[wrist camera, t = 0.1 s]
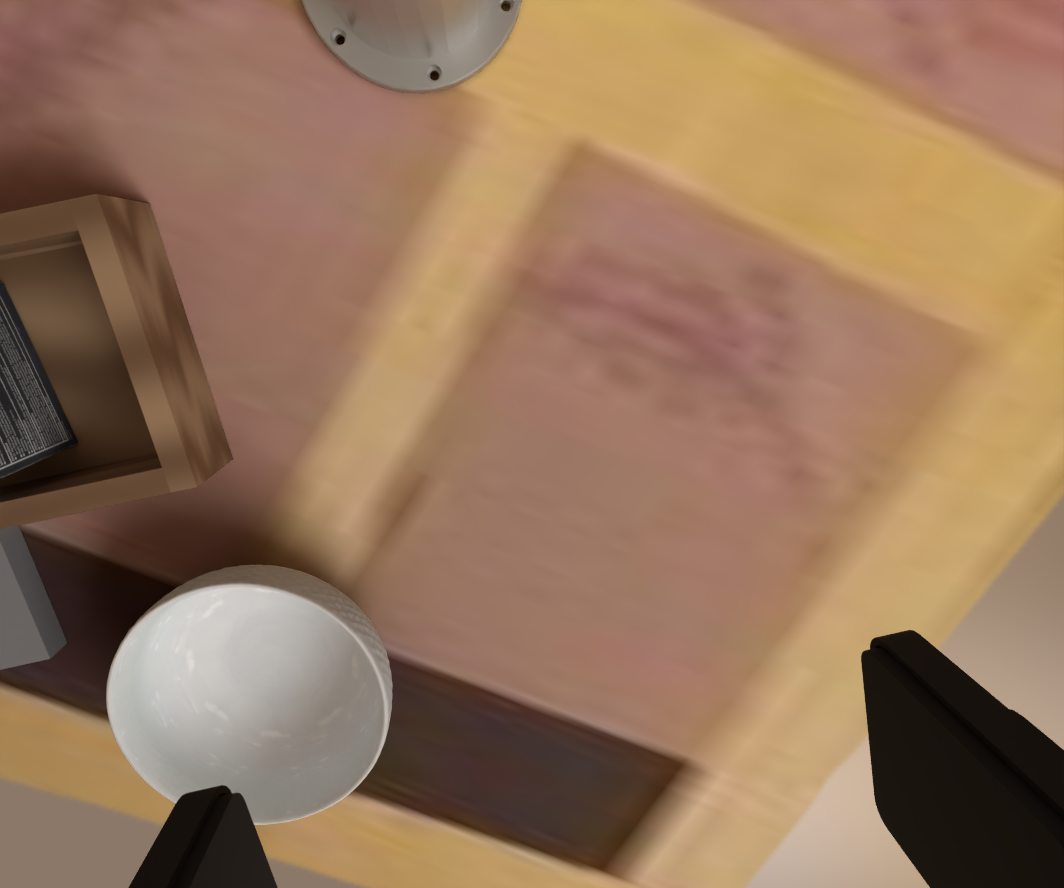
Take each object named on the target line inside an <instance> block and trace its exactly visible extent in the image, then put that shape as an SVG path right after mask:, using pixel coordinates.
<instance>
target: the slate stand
mask: <svg viewBox="0 0 1064 888" xmlns="http://www.w3.org/2000/svg"><path fill="white" fill-rule="evenodd" d="M66 644H67V641H66V638H65V636H64V633H63V631H62V629H61V626H60V624H59V621H58V619H57V617H56V614H55V612H54V609H53V607H52V605H51V602H50V600H49V597H48V595H47V593H46V590H45V588H44V585H43V583H42V581H41V578H40V576H39V573H38V571H37V569H36V566H35V564H34V561H33V559H32V557H31V554H30V552H29V549H28V547H27V545H26V542H25V540H24V537H23V535H22V533H21V530H20V528H19V526H14V527H9V528H5V529H0V670H1V669H5V668H10V667H15V666H19V665H24V664H28V663H33V662H37V661H42V660H47V659H50V658H52V657H53V656H54V655H55V654H56V653H57V652H58V651H59V650H60V649H61V648H62V647H64V646H65V645H66Z"/></svg>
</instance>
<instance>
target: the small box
mask: <svg viewBox="0 0 1064 888" xmlns="http://www.w3.org/2000/svg"><path fill="white" fill-rule="evenodd" d="M77 444H78V441H77V438H76V436H75V434H74V432H73V430H72V428H71V425H70V423H69V421H68V419H67V417H66V415H65V413H64V411H63V408H62V406H61V404H60V402H59V400H58V398H57V395H56V393H55V391H54V389H53V387H52V385H51V383H50V381H49V378H48V376H47V374H46V372H45V370H44V368H43V366H42V364H41V362H40V359H39V357H38V355H37V353H36V351H35V349H34V347H33V344H32V342H31V340H30V338H29V336H28V334H27V332H26V329H25V327H24V325H23V323H22V321H21V319H20V317H19V314H18V312H17V310H16V308H15V306H14V304H13V302H12V300H11V298H10V296H9V294H8V292H7V289H6V287H5V285H4V284H3V283H1V282H0V478H2V477H5V476H7V475H10V474H12V473H14V472H16V471H19V470H21V469H23V468H25V467H27V466H30V465H32V464H33V463H36V462H38V461H40V460H43V459H45V458H47V457H50V456H52V455H54V454H56V453H58V452H60V451H63V450H66V449H70V448H73V447H75V446H77Z"/></svg>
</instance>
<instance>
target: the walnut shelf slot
mask: <svg viewBox="0 0 1064 888" xmlns="http://www.w3.org/2000/svg"><path fill="white" fill-rule="evenodd" d="M0 282H1V283H3V284H4V285H5V287H6V289H7V292H8V294H9V296H10V298H11V300H12V302H13V304H14V306H15V308H16V310H17V312H18V314H19V317H20V319H21V321H22V323H23V325H24V327H25V329H26V332H27V334H28V336H29V338H30V340H31V342H32V344H33V347H34V349H35V351H36V353H37V355H38V357H39V359H40V362H41V364H42V366H43V368H44V370H45V372H46V374H47V376H48V378H49V381H50V383H51V385H52V387H53V389H54V391H55V393H56V395H57V398H58V400H59V402H60V404H61V406H62V408H63V411H64V413H65V415H66V417H67V419H68V421H69V423H70V425H71V428H72V430H73V432H74V434H75V436H76V438H77V441H78V444H77V446H75V447H73V448H70V449H66V450H63V451H60V452H58V453H56V454H54V455H52V456H50V457H47V458H45V459H43V460H40V461H38V462H36V463H33V464H32V465H30V466H27V467H25V468H23V469H21V470H19V471H16V472H14V473H12V474H10V475H7V476H5V477H2V478H0V529H5V528H9V527H14V526H19V525H23V524H28V523H33V522H37V521H42V520H47V519H51V518H56V517H61V516H65V515H70V514H75V513H79V512H84V511H89V510H93V509H98V508H103V507H107V506H112V505H117V504H121V503H126V502H131V501H135V500H140V499H145V498H149V497H154V496H159V495H163V494H168V493H173V492H177V491H182V490H186V489H191V488H196V487H198V486H199V485H201V484H202V483H203V482H204V481H206V480H207V479H208V478H210V477H211V476H212V475H213V474H215V473H216V472H217V471H218V470H220V469H221V468H222V467H224V466H225V465H226V464H227V463H229V462H230V461H231V460H232V459H233V458H232V455H231V452H230V449H229V445H228V442H227V439H226V436H225V433H224V430H223V427H222V424H221V421H220V418H219V415H218V412H217V409H216V405H215V402H214V399H213V396H212V393H211V390H210V387H209V384H208V381H207V378H206V375H205V372H204V369H203V365H202V362H201V359H200V356H199V353H198V350H197V347H196V344H195V341H194V338H193V335H192V332H191V329H190V325H189V322H188V319H187V316H186V313H185V310H184V307H183V304H182V301H181V298H180V295H179V292H178V289H177V285H176V282H175V279H174V276H173V273H172V270H171V267H170V264H169V261H168V258H167V255H166V252H165V249H164V246H163V242H162V239H161V236H160V233H159V230H158V227H157V224H156V221H155V218H154V215H153V212H152V209H151V206H150V204H149V203H144V202H139V201H133V200H128V199H123V198H117V197H112V196H106V195H101V194H93V195H88V196H83V197H78V198H73V199H68V200H64V201H59V202H54V203H49V204H44V205H39V206H34V207H30V208H25V209H20V210H15V211H10V212H5V213H0Z"/></svg>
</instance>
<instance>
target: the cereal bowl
mask: <svg viewBox="0 0 1064 888" xmlns="http://www.w3.org/2000/svg"><path fill="white" fill-rule="evenodd" d="M392 686H393V685H392V680H391V670H390V667H389V660H388V657H387V653H386V651H385V648H384V646H383V643H382V640H381V639H380V637H379V635H378V633H377V631H376V628H375V627H374V626H373V625H372V623H371V621H370V620H369V618H368V617H367V616H366V615H365V614H364V612H363V610H361V609H360V608H359V607H358V606H357V605H356V604H355V603H354V601H353V600H351V599H349V597H348V596H346V595H345V594H344V593H343V592H342V591H339V590H338V589H337V588H336V587H333V586H331V585H330V584H329V583H327V582H324V581H323V580H321V579H318V578H317V577H315V576H312V575H310V574H308V573H303V572H302V571H300V570H294V569H292V568H286V567H279V566H276V565H273V566H271V565H261V564H259V565H240V566H236V567H225V568H223V569H220V570H215V571H212V572H208V573H206V574H203V575H201V576H198V577H196V578H194V579H192V580H189V581H187V582H186V583H184V584H183V585H181V586H179V587H177V588H176V589H174V590H173V591H171V592H170V593H168V594H167V595H165V596H164V597H163V598H162V599H161V600H159V601H157V603H155V604H154V605H153V606H152V607H151V608H149V609H148V610H147V611H146V612H145V613H144V615H142V616H141V617H140V618H139V619H138V620H137V622H136V623H135V624H134V625H133V626H132V627H131V628H130V629H129V631H128V633H127V634H126V636H125V637H124V639H123V641H122V642H121V644H120V646H119V648H118V650H117V652H116V654H115V656H114V659H113V661H112V664H111V667H110V671H109V676H108V681H107V690H106V701H107V710H108V717H109V721H110V725H111V728H112V731H113V733H114V736H115V739H116V741H117V743H118V745H119V747H120V749H121V751H122V752H123V754H124V756H125V757H126V759H127V760H128V762H129V763H130V764H131V766H132V767H133V768H134V770H135V771H136V772H137V773H138V774H139V775H140V776H141V777H142V778H143V779H144V780H145V781H146V782H147V783H148V784H149V785H150V786H151V787H152V788H154V789H155V790H156V791H158V792H159V793H160V794H162V795H163V796H164V797H166V798H167V799H169V800H171V801H172V802H174V803H175V804H176V803H177V801H178V800H179V798H180V797H181V796H182V795H184V794H186V793H189V792H194V791H198V790H202V789H207V788H211V787H216V786H220V785H225V786H227V787H228V788H229V789H230V790H231V792H232V793H240V794H241V795H242V796H243V797H244V799H245V802H246V804H247V807H248V810H249V813H250V815H251V818H252V821H253V823H254V825H266V824H276V823H283V822H289V821H293V820H297V819H301V818H304V817H307V816H310V815H313V814H315V813H318V812H320V811H322V810H325V809H327V808H328V807H330V806H333V805H334V804H336V803H337V802H339V801H340V800H342V799H343V798H345V797H346V796H347V795H348V794H350V793H351V792H352V791H353V790H354V789H355V788H356V787H357V786H358V785H359V784H360V783H361V782H362V781H363V780H364V778H365V777H366V776H367V775H368V773H369V772H370V771H371V769H372V768H373V766H374V764H375V763H376V761H377V759H378V757H379V755H380V753H381V750H382V748H383V745H384V743H385V739H386V735H387V732H388V728H389V722H390V715H391V709H392Z"/></svg>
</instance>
